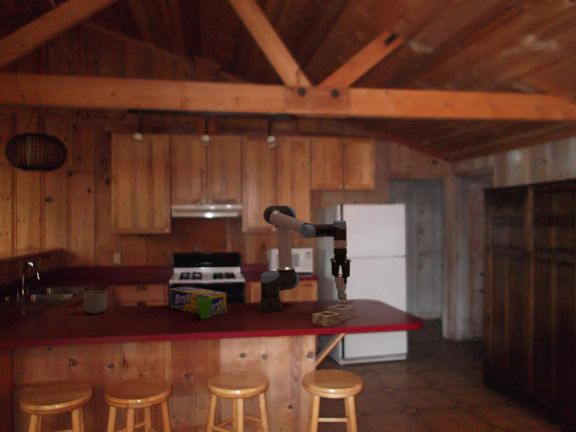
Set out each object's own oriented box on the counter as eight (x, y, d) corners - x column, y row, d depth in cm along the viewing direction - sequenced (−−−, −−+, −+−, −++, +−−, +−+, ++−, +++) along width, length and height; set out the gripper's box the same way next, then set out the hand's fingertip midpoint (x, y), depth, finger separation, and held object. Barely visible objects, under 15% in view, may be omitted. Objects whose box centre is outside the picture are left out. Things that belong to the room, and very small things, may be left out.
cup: (215, 317, 257) (215, 298, 257) (206, 321, 249) (206, 301, 249) (202, 316, 261) (202, 297, 261) (193, 319, 252) (193, 300, 252)
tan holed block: (327, 317, 253) (327, 307, 253) (340, 314, 260) (339, 304, 260) (342, 320, 245) (342, 309, 245) (355, 317, 252) (354, 306, 252)
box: (169, 308, 286) (168, 288, 286) (187, 305, 296) (187, 285, 297) (208, 317, 259) (208, 295, 259) (227, 313, 270) (226, 291, 270)
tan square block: (312, 323, 240) (312, 313, 240) (326, 319, 247) (326, 310, 247) (327, 326, 232) (327, 317, 232) (341, 323, 239) (341, 313, 239)
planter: (112, 311, 279) (112, 290, 279) (99, 316, 265) (99, 294, 265) (92, 310, 282) (92, 290, 282) (78, 315, 268) (78, 294, 268)
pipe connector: (353, 312, 266) (352, 295, 266) (336, 311, 268) (336, 294, 268) (353, 308, 276) (353, 292, 276) (337, 308, 278) (337, 292, 278)
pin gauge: (340, 298, 255) (340, 273, 255) (346, 299, 252) (345, 274, 252) (336, 299, 252) (335, 274, 253) (341, 300, 250) (341, 275, 250)
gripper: (324, 247, 256) (325, 288, 256) (347, 248, 244) (348, 291, 244) (333, 246, 261) (333, 286, 261) (356, 247, 249) (357, 289, 249)
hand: (340, 288), depth 252 cm, fingers closed on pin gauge, 4 cm apart
